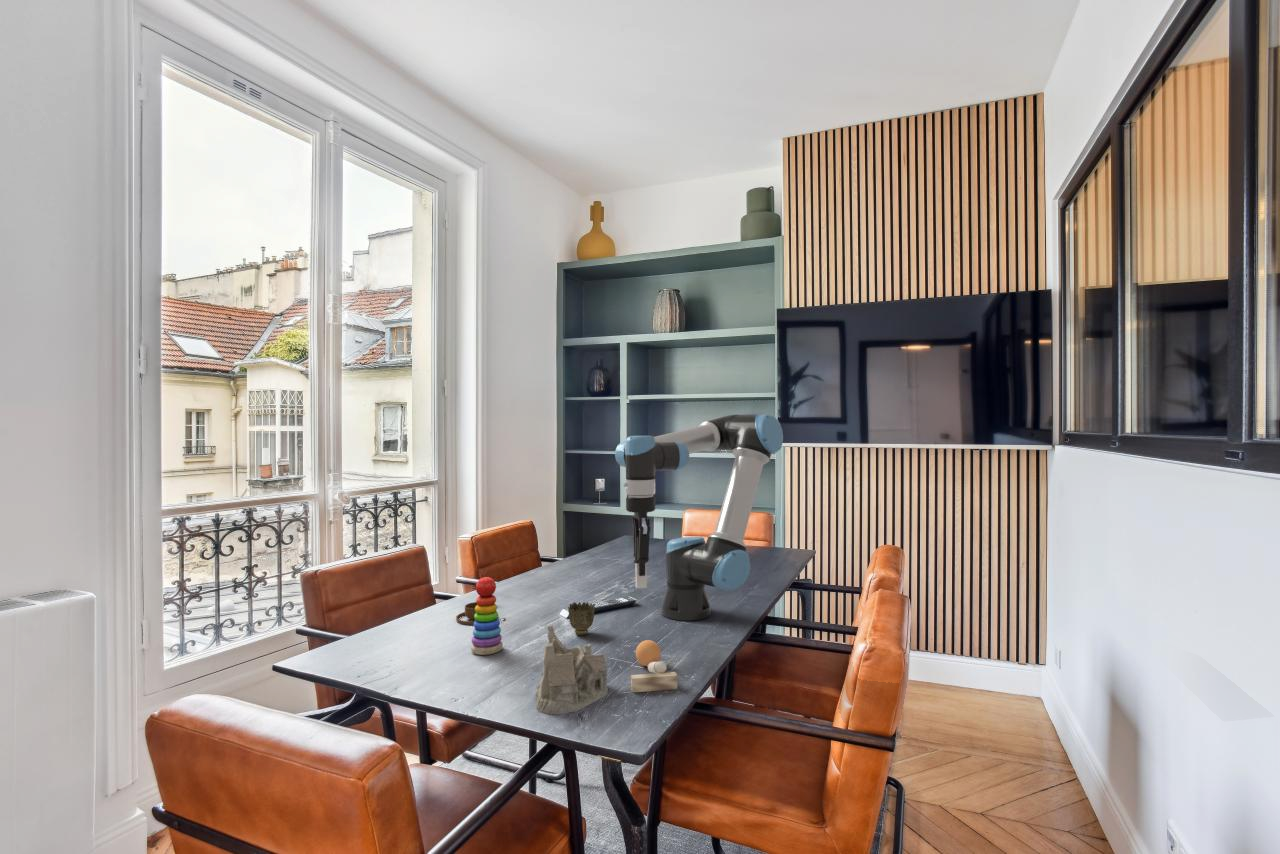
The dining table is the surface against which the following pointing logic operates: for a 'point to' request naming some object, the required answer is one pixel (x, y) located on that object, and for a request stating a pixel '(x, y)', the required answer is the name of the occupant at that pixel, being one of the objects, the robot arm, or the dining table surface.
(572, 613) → the cup
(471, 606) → the place setting
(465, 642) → the dining table surface
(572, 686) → the ceramic cottage
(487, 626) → the stacking toy
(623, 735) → the dining table surface
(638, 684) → the stopper rail
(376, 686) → the dining table surface
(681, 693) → the dining table surface
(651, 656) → the ball
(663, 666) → the pin
